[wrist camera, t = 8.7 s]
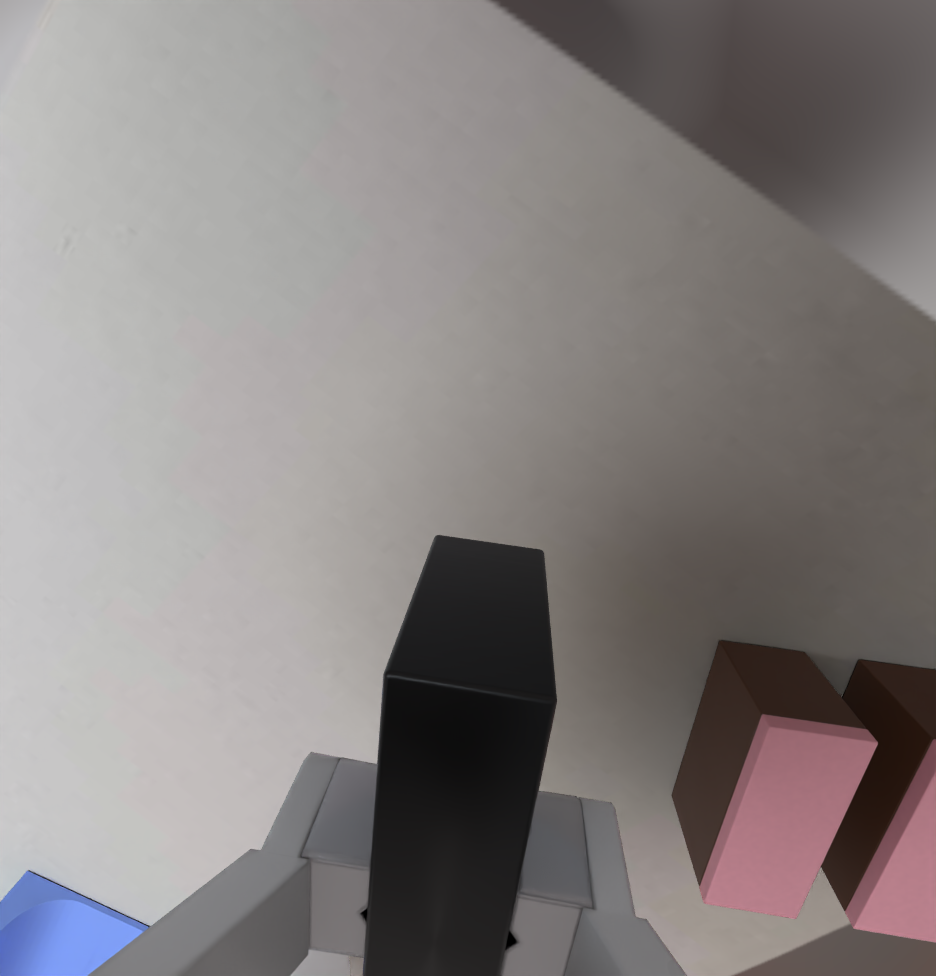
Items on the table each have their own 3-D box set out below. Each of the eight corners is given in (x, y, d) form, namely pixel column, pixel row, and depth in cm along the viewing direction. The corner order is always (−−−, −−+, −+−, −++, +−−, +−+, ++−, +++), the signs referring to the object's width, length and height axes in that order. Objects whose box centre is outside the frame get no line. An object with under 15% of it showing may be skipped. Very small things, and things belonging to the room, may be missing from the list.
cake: (858, 658, 25) (946, 753, 20) (993, 677, 24) (1118, 778, 19) (793, 814, 28) (853, 929, 23) (910, 832, 28) (998, 953, 23)
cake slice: (719, 639, 25) (769, 727, 20) (805, 651, 25) (879, 743, 20) (671, 795, 29) (703, 903, 23) (746, 807, 28) (796, 919, 23)
